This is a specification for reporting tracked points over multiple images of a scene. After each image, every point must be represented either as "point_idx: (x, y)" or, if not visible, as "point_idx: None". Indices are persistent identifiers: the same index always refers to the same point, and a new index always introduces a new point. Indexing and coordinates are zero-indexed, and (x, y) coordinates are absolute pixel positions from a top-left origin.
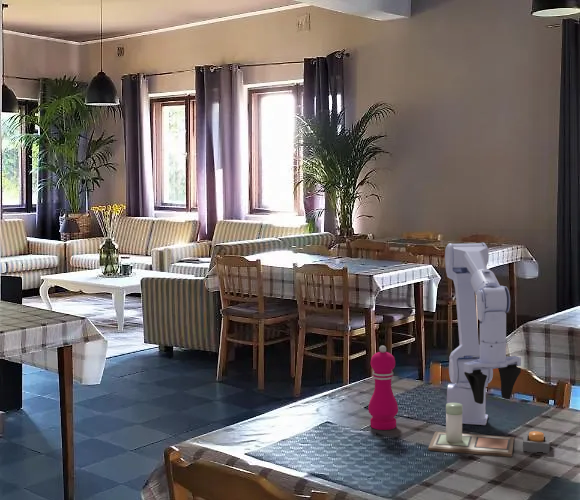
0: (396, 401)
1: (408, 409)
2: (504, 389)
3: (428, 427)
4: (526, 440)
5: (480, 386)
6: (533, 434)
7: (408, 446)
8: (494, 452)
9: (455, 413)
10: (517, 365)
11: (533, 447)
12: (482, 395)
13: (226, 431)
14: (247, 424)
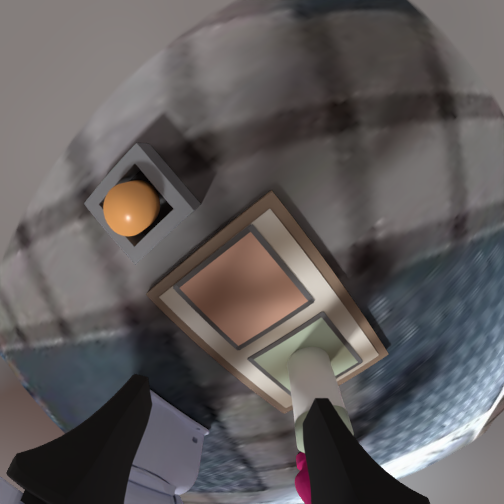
0: (307, 487)
1: (215, 473)
2: (136, 428)
3: (260, 432)
4: (173, 213)
5: (376, 468)
6: (140, 208)
7: (387, 380)
8: (303, 236)
9: (342, 410)
10: (18, 493)
11: (175, 180)
12: (338, 428)
13: (438, 459)
14: (411, 472)
